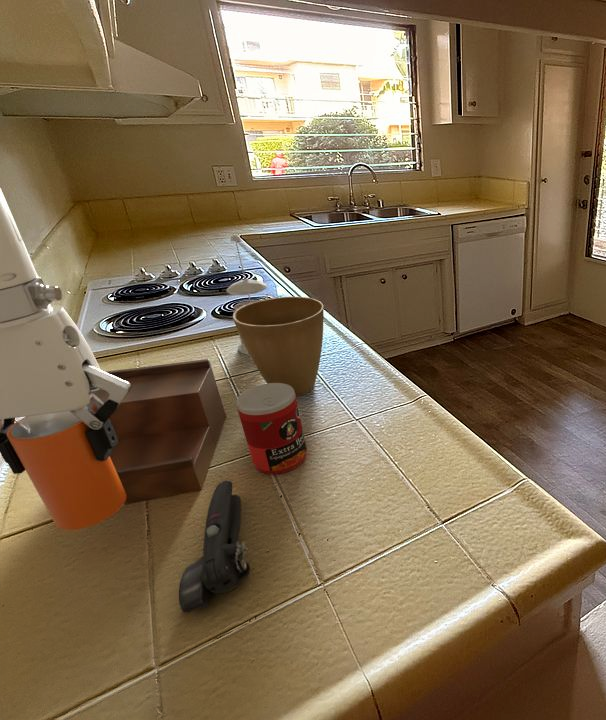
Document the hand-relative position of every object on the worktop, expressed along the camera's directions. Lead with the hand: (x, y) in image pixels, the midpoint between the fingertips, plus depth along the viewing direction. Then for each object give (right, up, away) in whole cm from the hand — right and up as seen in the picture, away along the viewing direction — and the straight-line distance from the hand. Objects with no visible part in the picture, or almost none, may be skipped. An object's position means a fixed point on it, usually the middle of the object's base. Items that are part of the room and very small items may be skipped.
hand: (67, 458), depth 50 cm
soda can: (0, -6, +3) cm, 7 cm away
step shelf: (-4, -4, +20) cm, 21 cm away
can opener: (+15, -12, +5) cm, 19 cm away
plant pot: (+9, +5, +39) cm, 40 cm away
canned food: (+15, -4, +20) cm, 25 cm away
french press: (-5, +14, +56) cm, 58 cm away
